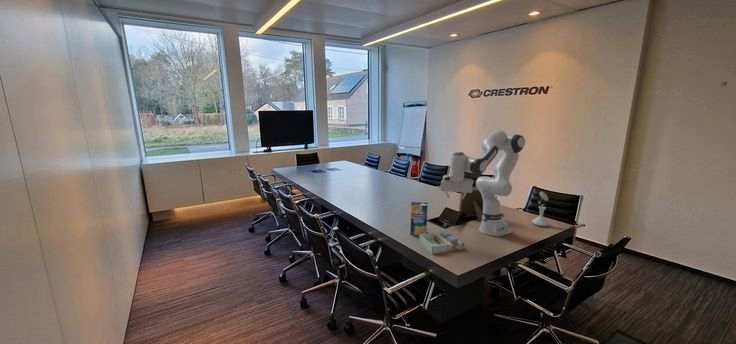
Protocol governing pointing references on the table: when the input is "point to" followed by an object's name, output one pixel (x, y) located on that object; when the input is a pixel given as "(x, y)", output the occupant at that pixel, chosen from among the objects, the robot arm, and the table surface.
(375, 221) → the table surface
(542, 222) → the flower in vase
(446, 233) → the tile
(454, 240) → the tile
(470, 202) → the photo frame
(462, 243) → the beige shallow box
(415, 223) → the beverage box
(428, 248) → the tray
